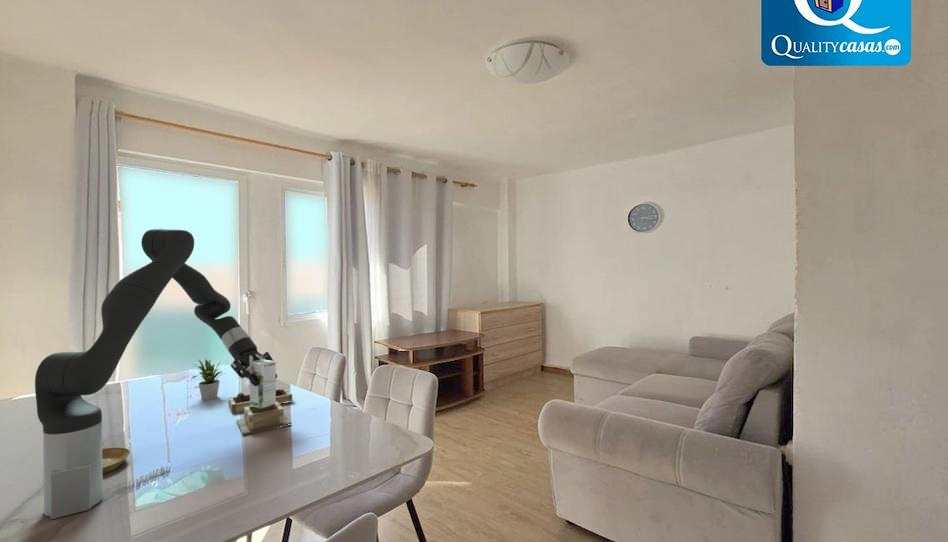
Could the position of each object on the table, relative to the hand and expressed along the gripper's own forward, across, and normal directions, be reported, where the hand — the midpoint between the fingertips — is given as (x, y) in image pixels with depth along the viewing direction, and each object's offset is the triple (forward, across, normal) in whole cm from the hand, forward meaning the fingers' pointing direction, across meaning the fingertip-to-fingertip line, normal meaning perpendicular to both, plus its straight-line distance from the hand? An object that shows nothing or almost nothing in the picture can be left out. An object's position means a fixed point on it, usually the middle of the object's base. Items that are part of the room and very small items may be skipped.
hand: (266, 381), depth 137 cm
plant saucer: (-3, -38, +24) cm, 45 cm away
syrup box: (+5, 0, +7) cm, 8 cm away
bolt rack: (-3, +16, +23) cm, 28 cm away
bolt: (-7, +16, +20) cm, 27 cm away
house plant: (-22, +15, +43) cm, 50 cm away
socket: (+9, 0, +11) cm, 14 cm away
